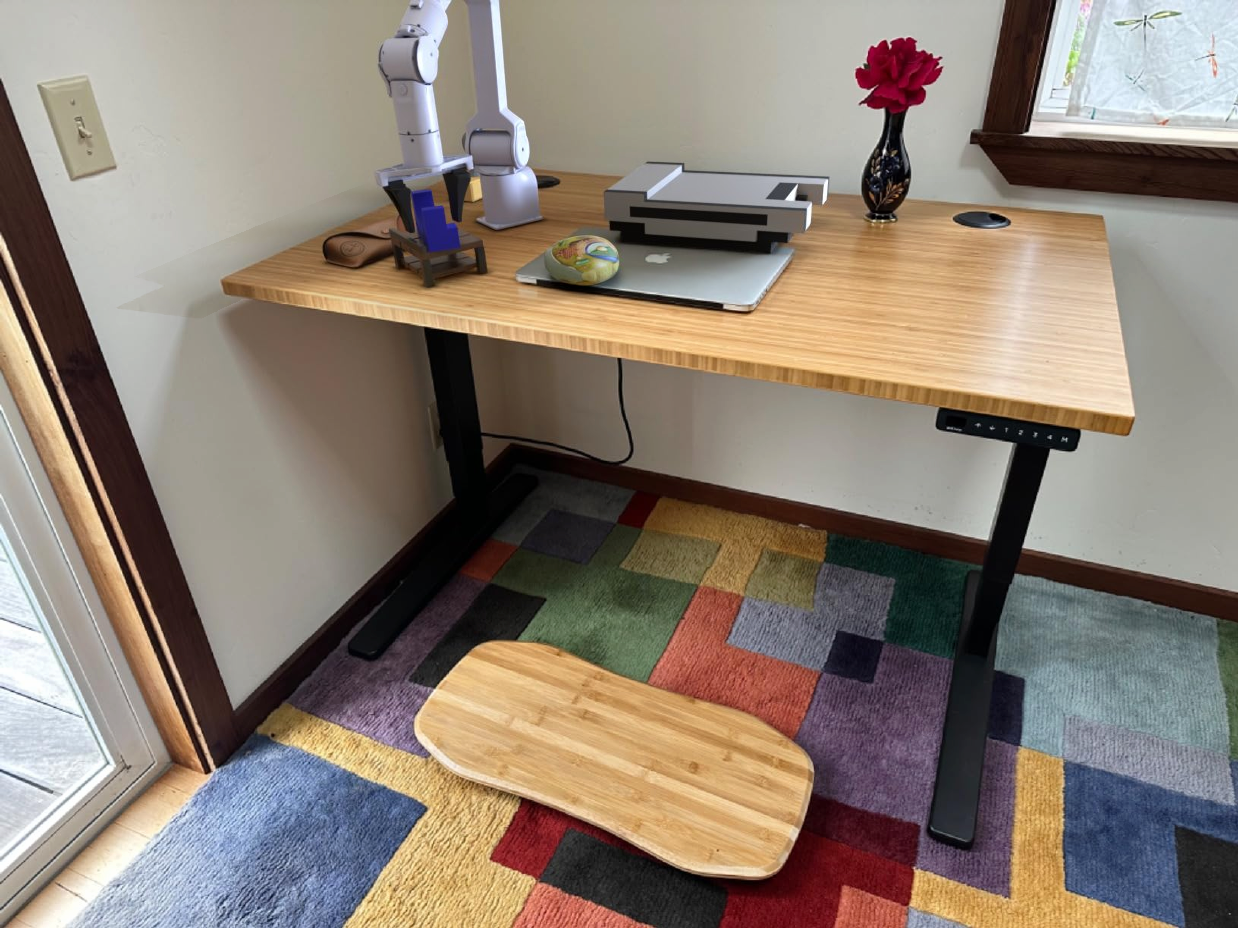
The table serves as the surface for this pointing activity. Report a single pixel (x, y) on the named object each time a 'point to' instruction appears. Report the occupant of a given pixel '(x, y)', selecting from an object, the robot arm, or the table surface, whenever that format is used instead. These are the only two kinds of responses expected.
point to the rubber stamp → (472, 182)
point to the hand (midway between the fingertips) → (434, 226)
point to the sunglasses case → (362, 243)
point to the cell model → (582, 260)
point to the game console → (711, 207)
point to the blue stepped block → (433, 223)
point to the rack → (437, 256)
